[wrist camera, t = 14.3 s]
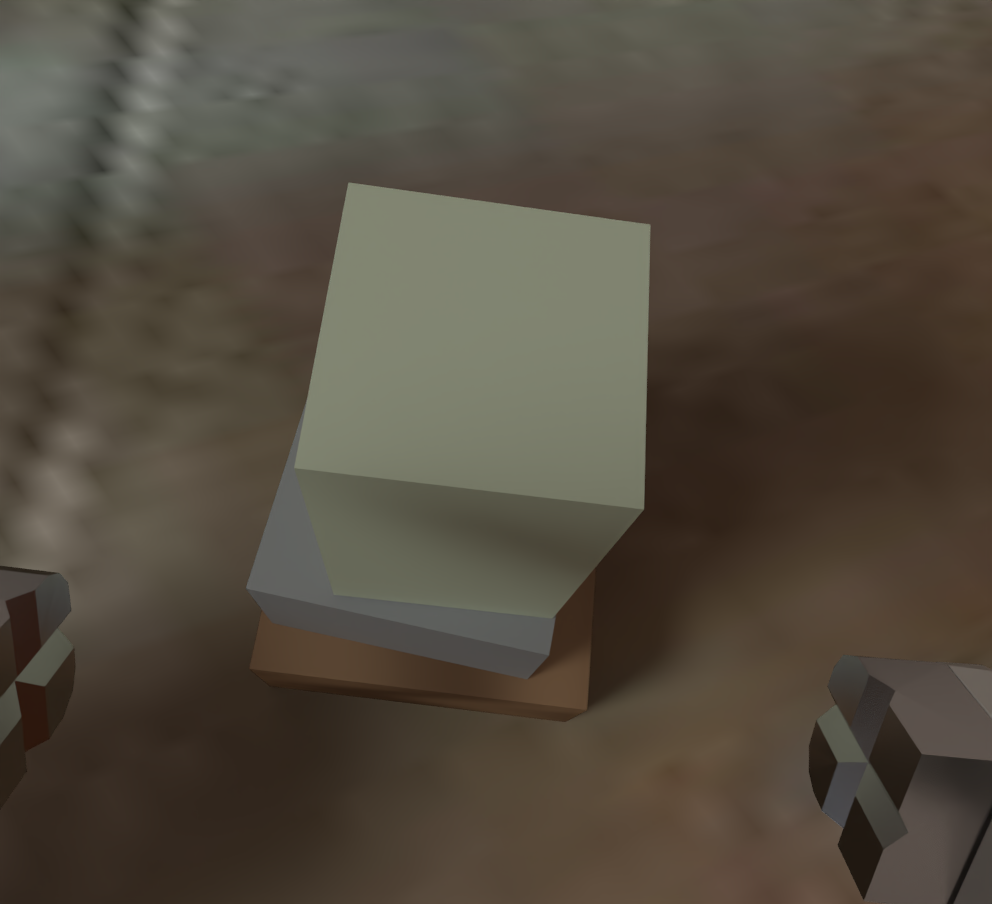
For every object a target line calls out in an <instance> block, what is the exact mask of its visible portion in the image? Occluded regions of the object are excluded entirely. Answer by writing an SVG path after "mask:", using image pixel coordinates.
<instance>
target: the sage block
mask: <svg viewBox="0 0 992 904" xmlns="http://www.w3.org/2000/svg"><path fill="white" fill-rule="evenodd" d="M649 261H650V225H648V224H641V223H634V222H627V221H620V220H613V219H605V218H598V217H591V216H584V215H577V214H570V213H563V212H555V211H548V210H541V209H534V208H527V207H520V206H512V205H505V204H498V203H491V202H484V201H477V200H469V199H462V198H455V197H448V196H441V195H434V194H427V193H419V192H412V191H405V190H398V189H391V188H384V187H376V186H369V185H362V184H355V183H348V188H347V193H346V199H345V204H344V209H343V214H342V220H341V225H340V230H339V235H338V241H337V246H336V251H335V256H334V262H333V267H332V272H331V277H330V283H329V288H328V293H327V298H326V303H325V309H324V314H323V319H322V324H321V330H320V335H319V340H318V345H317V351H316V356H315V361H314V366H313V372H312V377H311V382H310V387H309V393H308V398H307V403H306V408H305V413H304V419H303V424H302V429H301V434H300V440H299V445H298V450H297V455H296V461H295V466H294V469H295V473H296V476H297V479H298V482H299V485H300V489H301V492H302V495H303V498H304V501H305V505H306V508H307V511H308V514H309V517H310V520H311V524H312V527H313V530H314V533H315V536H316V540H317V543H318V546H319V549H320V552H321V556H322V559H323V562H324V565H325V568H326V572H327V575H328V578H329V581H330V584H331V588H332V591H333V594H334V595H341V596H350V597H359V598H368V599H377V600H386V601H396V602H405V603H414V604H423V605H432V606H441V607H451V608H460V609H469V610H478V611H487V612H496V613H506V614H515V615H524V616H533V617H542V618H551V619H552V618H553V617H554V616H555V615H556V614H557V612H558V611H559V610H560V609H561V608H562V606H563V605H564V604H565V603H566V602H567V601H568V599H569V598H570V597H571V596H572V595H573V593H574V592H575V591H576V590H577V589H578V587H579V586H580V585H581V584H582V583H583V581H584V580H585V579H586V578H587V577H588V576H589V574H590V573H591V572H592V571H593V570H594V568H595V567H596V566H597V565H598V564H599V562H600V561H601V560H602V559H603V558H604V557H605V555H606V554H607V553H608V552H609V551H610V549H611V548H612V547H613V546H614V545H615V543H616V542H617V541H618V540H619V539H620V537H621V536H622V535H623V534H624V533H625V532H626V530H627V529H628V528H629V527H630V526H631V524H632V523H633V522H634V521H635V520H636V518H637V517H638V516H639V515H640V514H641V513H642V511H643V510H644V492H645V446H646V399H647V353H648V307H649Z"/></svg>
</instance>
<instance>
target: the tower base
mask: <svg viewBox="0 0 992 904" xmlns="http://www.w3.org/2000/svg"><path fill="white" fill-rule="evenodd" d="M308 393H309V392H308ZM307 398H308V396H307ZM595 579H596V567H595V568H594V570H593V571H592V572H591V573H590V574H589V576H588V577H587V578H586V579H585V580H584V581H583V583H582V584H581V585H580V586H579V587H578V589H577V590H576V591H575V592H574V593H573V595H572V596H571V597H570V598H569V599H568V601H567V602H566V603H565V604H564V605H563V606H562V608H561V609H560V610H559V611H558V612H557V614H556V619H555V625H554V630H553V636H552V642H551V647H550V653H549V656H548V657H547V658H546V659H545V661H544V662H543V663H542V664H541V665H540V666H539V667H538V668H537V669H536V670H535V671H534V673H533V674H532V675H531V676H530V677H529V678H528V679H523V678H518V677H514V676H509V675H505V674H500V673H496V672H491V671H487V670H482V669H478V668H473V667H469V666H464V665H460V664H455V663H451V662H446V661H441V660H437V659H432V658H428V657H423V656H419V655H414V654H410V653H405V652H401V651H396V650H392V649H387V648H383V647H378V646H374V645H369V644H365V643H360V642H356V641H351V640H347V639H342V638H337V637H333V636H328V635H324V634H319V633H315V632H310V631H306V630H301V629H297V628H292V627H288V626H283V625H279V624H274V623H272V622H271V621H270V619H269V618H268V617H267V615H266V614H265V613H264V612H263V610H262V611H261V615H260V620H259V625H258V629H257V634H256V639H255V643H254V648H253V653H252V657H251V662H250V667H249V669H250V670H251V671H252V672H254V673H255V674H256V675H257V676H258V677H260V678H261V679H262V680H263V681H264V682H266V683H267V684H268V685H269V686H273V687H281V688H290V689H298V690H306V691H314V692H323V693H331V694H339V695H347V696H356V697H364V698H372V699H380V700H389V701H397V702H405V703H413V704H422V705H430V706H438V707H446V708H455V709H463V710H471V711H479V712H488V713H496V714H504V715H512V716H521V717H529V718H537V719H546V720H554V721H562V722H566V721H567V720H569V719H571V718H573V717H575V716H577V715H579V714H581V713H583V712H584V711H586V710H587V705H588V689H589V673H590V657H591V642H592V626H593V610H594V594H595Z"/></svg>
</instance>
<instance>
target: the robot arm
mask: <svg viewBox="0 0 992 904" xmlns="http://www.w3.org/2000/svg"><path fill="white" fill-rule="evenodd" d="M70 612H71V603H70V595H69V586H68V582H67V581H66V580H65V579H64V578H63V576H62V575H61V574H60V573H55V572H47V571H39V570H31V569H22V568H14V567H6V566H0V809H1V808H2V806H3V805H4V804H5V802H6V801H7V799H8V798H9V796H10V795H11V794H12V792H13V791H14V789H15V788H16V786H17V785H18V783H19V782H20V781H21V779H22V778H23V776H24V775H25V773H26V772H27V769H26V758H25V752H26V751H28V750H30V749H31V748H33V747H35V746H37V745H39V744H41V743H42V742H44V741H46V740H48V739H50V737H51V735H52V734H53V732H54V731H55V729H56V728H57V726H58V725H59V723H60V722H61V720H62V719H63V716H64V714H65V711H66V708H67V705H68V702H69V699H70V697H71V694H72V691H73V684H74V675H75V653H74V646H73V645H72V644H71V643H70V642H69V640H68V639H67V638H66V637H65V636H64V634H63V633H62V632H61V631H60V630H59V628H58V627H59V625H60V624H61V623H62V622H63V620H64V619H65V618H66V617H67V615H68V614H69V613H70ZM828 689H829V691H830V693H831V695H832V697H833V699H834V701H835V703H836V705H835V706H833V707H832V708H831V709H830V710H828V711H827V712H826V713H825V714H823V715H822V716H821V717H820V718H818V719H817V720H816V723H815V727H814V730H813V734H812V737H811V741H810V744H809V775H810V779H811V784H812V788H813V792H814V794H815V797H816V799H817V801H818V803H819V806H820V808H821V810H822V811H823V812H824V813H825V814H827V815H828V816H829V817H830V818H831V819H833V820H834V821H835V822H836V823H838V824H839V825H840V826H841V827H842V828H844V829H843V831H842V834H841V837H840V840H839V843H838V847H839V849H840V851H841V853H842V856H843V858H844V860H845V862H846V864H847V866H848V868H849V870H850V873H851V875H852V877H853V879H854V881H855V883H856V885H857V887H858V890H859V892H860V894H861V896H862V898H863V900H864V901H869V902H878V903H887V904H992V669H990V668H988V667H985V666H983V665H977V664H962V663H947V662H925V661H913V660H900V659H888V658H876V657H863V656H851V655H843V656H842V657H841V659H840V660H839V661H838V663H837V664H836V665H835V667H834V669H833V672H832V675H831V678H830V681H829V684H828Z"/></svg>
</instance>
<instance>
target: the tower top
mask: <svg viewBox="0 0 992 904" xmlns="http://www.w3.org/2000/svg"><path fill="white" fill-rule="evenodd" d="M306 403H307V401H306ZM305 408H306V404H305V407H304V410H303V413H302V416H301V419H300V422H299V426H298V429H297V432H296V435H295V438H294V441H293V444H292V447H291V450H290V453H289V456H288V460H287V463H286V466H285V469H284V472H283V475H282V478H281V481H280V484H279V487H278V490H277V494H276V497H275V500H274V503H273V506H272V509H271V512H270V515H269V518H268V521H267V524H266V527H265V531H264V534H263V537H262V540H261V543H260V546H259V549H258V552H257V555H256V558H255V561H254V565H253V568H252V571H251V574H250V577H249V580H248V583H247V586H246V589H247V591H248V592H249V593H250V595H251V596H252V597H253V599H254V600H255V601H256V602H257V604H258V605H259V606H260V608H261V609H262V610H263V612H264V613H265V614H266V615H267V617H268V618H269V619H270V621H271V622H272V623H274V624H279V625H283V626H288V627H292V628H297V629H301V630H306V631H310V632H315V633H319V634H324V635H328V636H333V637H337V638H342V639H347V640H351V641H356V642H360V643H365V644H369V645H374V646H378V647H383V648H387V649H392V650H396V651H401V652H405V653H410V654H414V655H419V656H423V657H428V658H432V659H437V660H441V661H446V662H451V663H455V664H460V665H464V666H469V667H473V668H478V669H482V670H487V671H491V672H496V673H500V674H505V675H509V676H514V677H518V678H523V679H528V678H529V677H530V676H531V675H532V674H533V673H534V671H535V670H536V669H537V668H538V667H539V666H540V665H541V664H542V663H543V662H544V661H545V659H546V658H547V657H548V656H549V653H550V647H551V642H552V636H553V630H554V625H555V619H556V615H555V616H554V617H553V618H552V619H551V618H542V617H533V616H524V615H515V614H506V613H496V612H487V611H478V610H469V609H460V608H451V607H441V606H432V605H423V604H414V603H405V602H396V601H386V600H377V599H368V598H359V597H350V596H341V595H334V594H333V591H332V588H331V584H330V581H329V578H328V575H327V572H326V568H325V565H324V562H323V559H322V556H321V552H320V549H319V546H318V543H317V540H316V536H315V533H314V530H313V527H312V524H311V520H310V517H309V514H308V511H307V508H306V505H305V501H304V498H303V495H302V492H301V489H300V485H299V482H298V479H297V476H296V473H295V469H294V466H295V461H296V455H297V450H298V445H299V440H300V434H301V429H302V424H303V419H304V413H305Z"/></svg>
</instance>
